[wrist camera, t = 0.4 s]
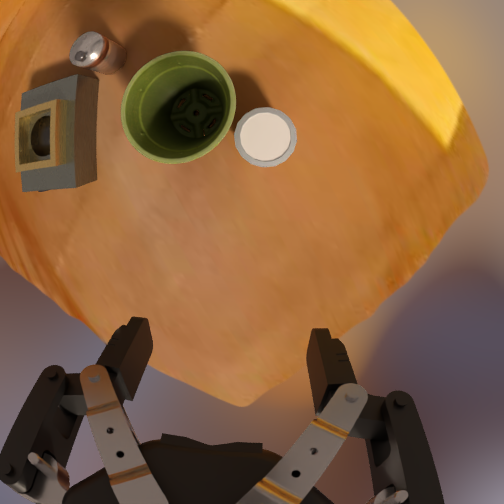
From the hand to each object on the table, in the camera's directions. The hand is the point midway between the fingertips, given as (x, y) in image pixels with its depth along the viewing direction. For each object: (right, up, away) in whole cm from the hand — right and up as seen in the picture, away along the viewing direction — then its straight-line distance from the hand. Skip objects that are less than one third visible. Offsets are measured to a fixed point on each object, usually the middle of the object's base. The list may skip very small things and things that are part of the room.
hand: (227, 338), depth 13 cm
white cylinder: (+3, +19, +22) cm, 30 cm away
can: (-20, +33, +17) cm, 41 cm away
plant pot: (-6, +23, +21) cm, 31 cm away
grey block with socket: (-28, +23, +21) cm, 42 cm away
